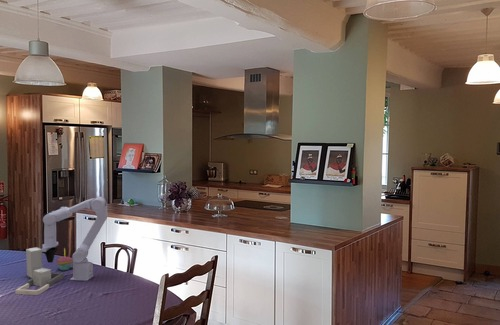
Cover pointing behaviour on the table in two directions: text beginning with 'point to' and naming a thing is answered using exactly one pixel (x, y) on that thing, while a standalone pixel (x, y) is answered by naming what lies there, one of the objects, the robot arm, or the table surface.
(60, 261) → the cupcake
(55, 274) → the frame
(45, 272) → the skincare box
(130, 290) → the table surface
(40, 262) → the skincare box
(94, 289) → the table surface
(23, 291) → the bracket frame
